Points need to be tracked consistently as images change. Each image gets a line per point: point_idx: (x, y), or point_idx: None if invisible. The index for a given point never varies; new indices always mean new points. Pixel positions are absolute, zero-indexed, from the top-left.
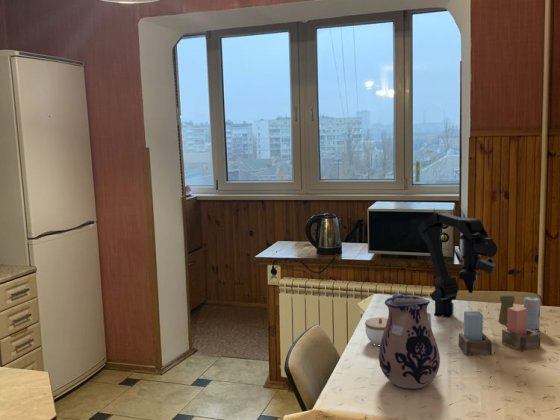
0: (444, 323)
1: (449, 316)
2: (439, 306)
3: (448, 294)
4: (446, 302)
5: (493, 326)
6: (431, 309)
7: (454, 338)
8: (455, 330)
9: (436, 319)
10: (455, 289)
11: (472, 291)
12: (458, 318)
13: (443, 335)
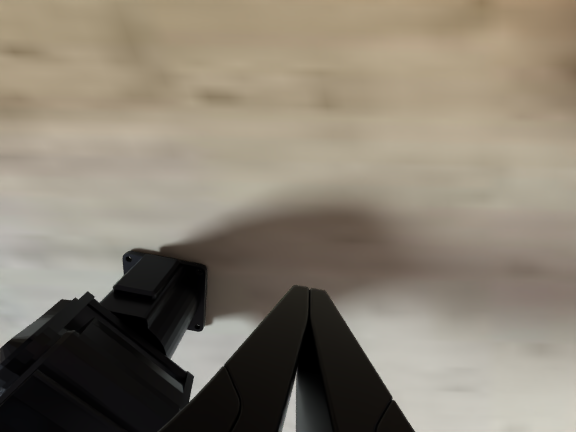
0: None
1: (205, 270)
2: (178, 343)
3: (157, 384)
4: (161, 334)
5: (295, 19)
6: None
7: (537, 253)
8: (406, 245)
9: (253, 318)
10: (76, 370)
11: (319, 298)
12: (204, 226)
13: (488, 298)
